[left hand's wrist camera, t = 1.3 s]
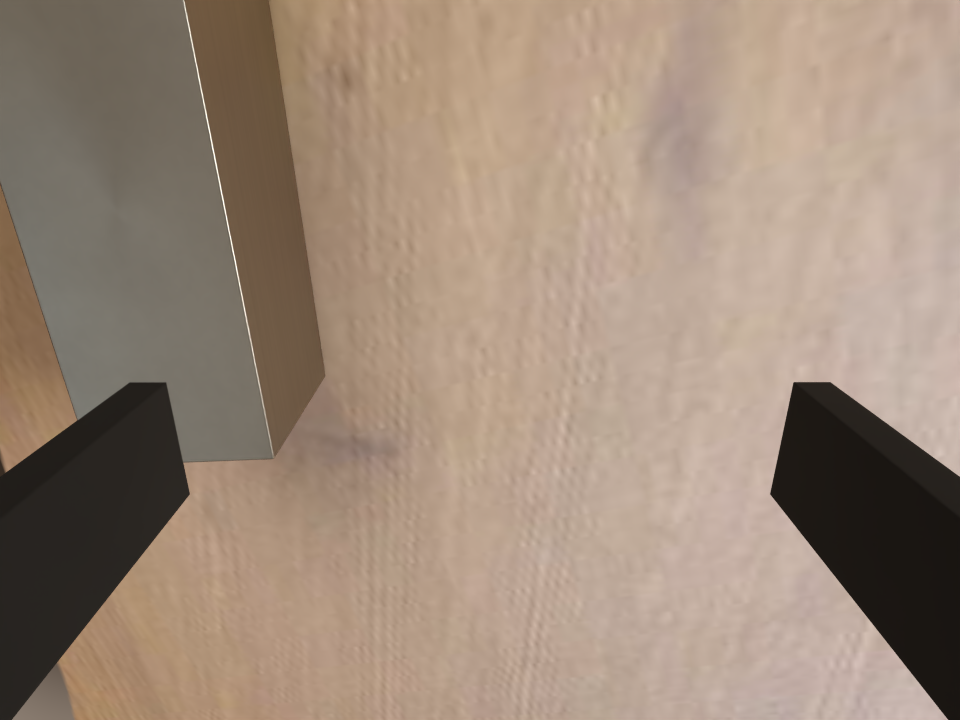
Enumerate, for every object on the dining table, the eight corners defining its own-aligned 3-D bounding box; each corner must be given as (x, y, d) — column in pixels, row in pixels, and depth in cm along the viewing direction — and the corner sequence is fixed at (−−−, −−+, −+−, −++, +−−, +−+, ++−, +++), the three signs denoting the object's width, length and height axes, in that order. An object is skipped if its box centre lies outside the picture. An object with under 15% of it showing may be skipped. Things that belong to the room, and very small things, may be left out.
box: (82, -56, 25) (-107, -143, 17) (259, -65, 25) (153, -157, 17) (188, 381, 33) (91, 467, 24) (325, 376, 32) (274, 459, 24)
